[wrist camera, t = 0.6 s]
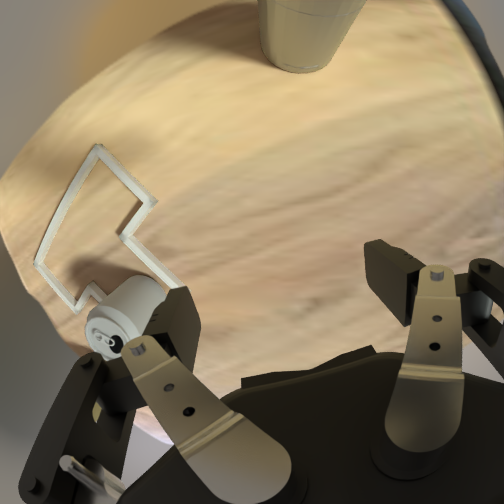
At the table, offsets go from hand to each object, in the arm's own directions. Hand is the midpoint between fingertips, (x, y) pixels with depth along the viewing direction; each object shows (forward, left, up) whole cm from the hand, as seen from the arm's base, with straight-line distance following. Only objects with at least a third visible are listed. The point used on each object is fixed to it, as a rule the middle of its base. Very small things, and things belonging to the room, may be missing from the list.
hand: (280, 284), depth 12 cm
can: (+12, -18, -22) cm, 31 cm away
